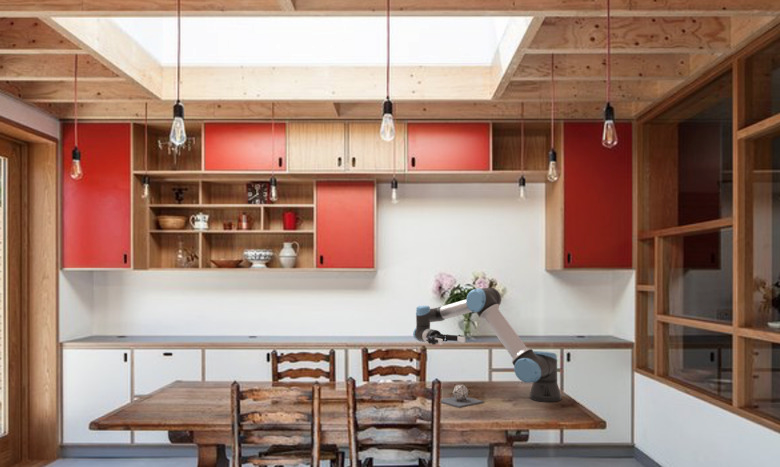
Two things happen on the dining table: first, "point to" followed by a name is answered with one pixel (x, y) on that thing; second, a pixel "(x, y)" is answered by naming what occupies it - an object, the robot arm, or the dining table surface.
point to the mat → (460, 402)
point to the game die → (460, 392)
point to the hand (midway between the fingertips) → (453, 341)
